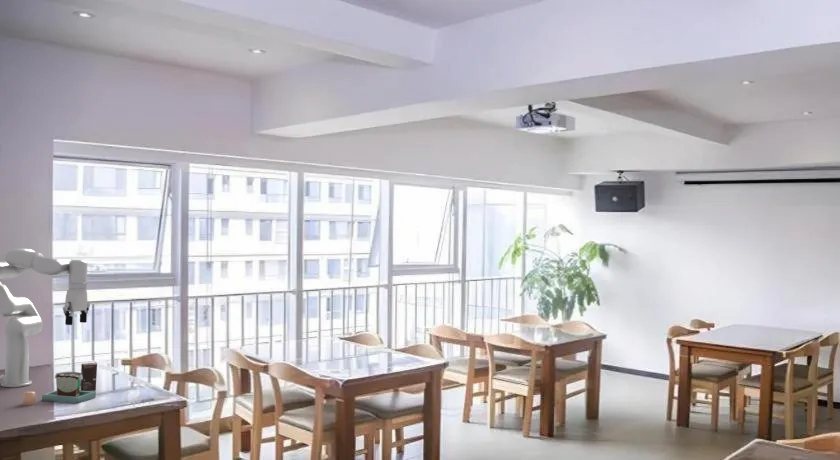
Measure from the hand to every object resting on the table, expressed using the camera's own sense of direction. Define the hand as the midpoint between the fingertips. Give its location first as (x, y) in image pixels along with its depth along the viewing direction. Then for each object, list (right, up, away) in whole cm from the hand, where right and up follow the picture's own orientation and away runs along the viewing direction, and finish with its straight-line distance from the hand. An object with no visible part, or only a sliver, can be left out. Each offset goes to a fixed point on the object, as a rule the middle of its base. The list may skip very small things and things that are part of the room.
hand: (76, 323), depth 316 cm
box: (+6, -31, 0) cm, 31 cm away
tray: (+6, -30, -18) cm, 36 cm away
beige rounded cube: (-5, -30, -29) cm, 42 cm away
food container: (+6, -30, -16) cm, 34 cm away
